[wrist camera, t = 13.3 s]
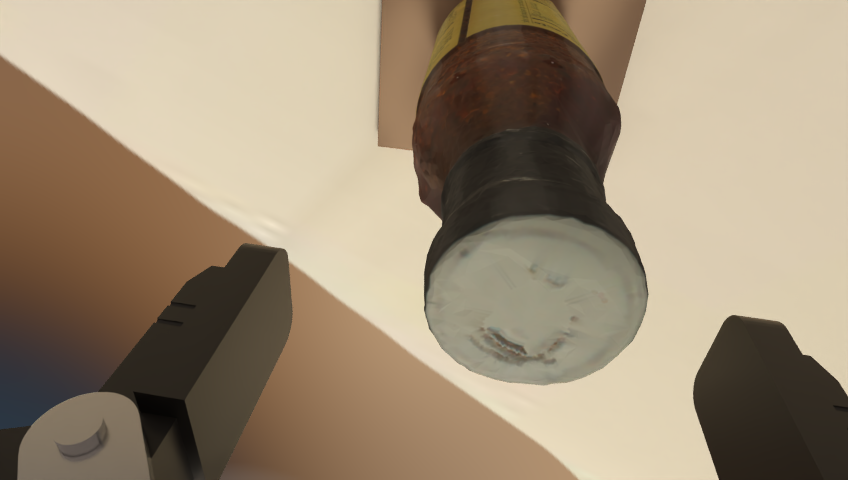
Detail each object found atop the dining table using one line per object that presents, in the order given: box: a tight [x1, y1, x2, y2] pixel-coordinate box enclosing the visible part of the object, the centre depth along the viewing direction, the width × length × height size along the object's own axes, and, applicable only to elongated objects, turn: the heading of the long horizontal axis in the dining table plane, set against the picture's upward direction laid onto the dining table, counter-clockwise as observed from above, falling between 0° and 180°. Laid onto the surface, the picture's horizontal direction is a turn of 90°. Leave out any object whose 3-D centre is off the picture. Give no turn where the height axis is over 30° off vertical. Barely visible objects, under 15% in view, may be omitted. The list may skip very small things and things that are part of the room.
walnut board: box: [378, 0, 646, 150], centre depth 27 cm, size 12×12×1 cm
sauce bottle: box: [412, 0, 648, 385], centre depth 18 cm, size 6×6×20 cm
